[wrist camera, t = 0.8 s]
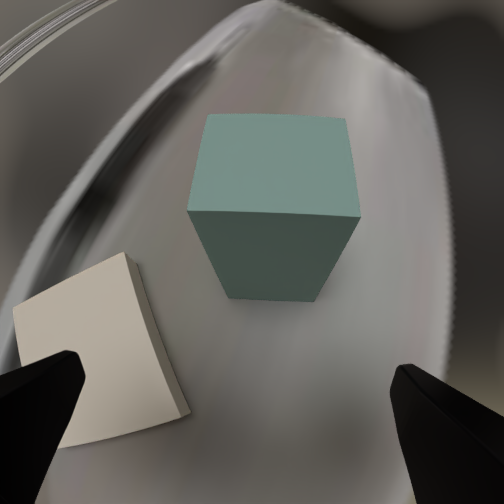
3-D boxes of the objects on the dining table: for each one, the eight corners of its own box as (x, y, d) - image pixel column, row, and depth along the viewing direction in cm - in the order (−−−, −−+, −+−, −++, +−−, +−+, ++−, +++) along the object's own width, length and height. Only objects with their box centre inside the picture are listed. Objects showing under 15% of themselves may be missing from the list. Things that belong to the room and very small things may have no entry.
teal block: (313, 301, 21) (360, 217, 10) (228, 298, 21) (186, 210, 10) (313, 237, 23) (345, 119, 12) (234, 234, 23) (208, 114, 12)
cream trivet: (191, 412, 18) (181, 417, 16) (65, 446, 17) (47, 450, 14) (136, 263, 23) (123, 251, 20) (30, 315, 21) (12, 308, 19)
